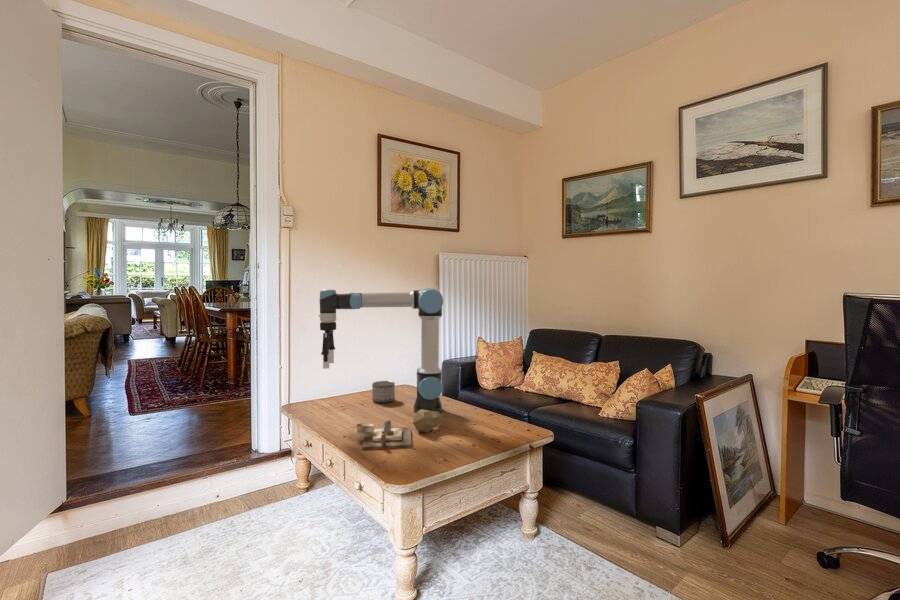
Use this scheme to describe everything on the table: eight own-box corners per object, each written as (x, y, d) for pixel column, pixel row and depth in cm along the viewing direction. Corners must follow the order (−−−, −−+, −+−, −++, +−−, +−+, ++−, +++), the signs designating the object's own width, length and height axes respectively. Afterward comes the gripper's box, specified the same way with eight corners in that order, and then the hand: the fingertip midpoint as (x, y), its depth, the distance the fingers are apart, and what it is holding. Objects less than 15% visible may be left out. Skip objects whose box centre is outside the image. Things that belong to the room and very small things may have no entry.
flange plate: (401, 430, 196) (401, 418, 195) (401, 440, 184) (401, 427, 183) (358, 432, 193) (358, 420, 193) (355, 442, 181) (355, 429, 181)
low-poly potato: (410, 436, 193) (431, 427, 189) (404, 412, 198) (424, 403, 194) (428, 436, 206) (448, 427, 201) (422, 413, 210) (442, 404, 206)
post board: (410, 429, 201) (410, 412, 201) (411, 447, 179) (411, 428, 179) (366, 431, 199) (366, 414, 198) (362, 449, 177) (361, 430, 177)
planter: (373, 398, 256) (373, 381, 255) (394, 397, 257) (394, 380, 257) (371, 404, 243) (371, 386, 243) (394, 403, 244) (394, 385, 244)
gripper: (324, 319, 222) (325, 361, 223) (314, 324, 197) (315, 370, 198) (339, 319, 223) (340, 360, 223) (331, 324, 198) (332, 370, 199)
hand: (328, 365), depth 211 cm, fingers open, 13 cm apart
